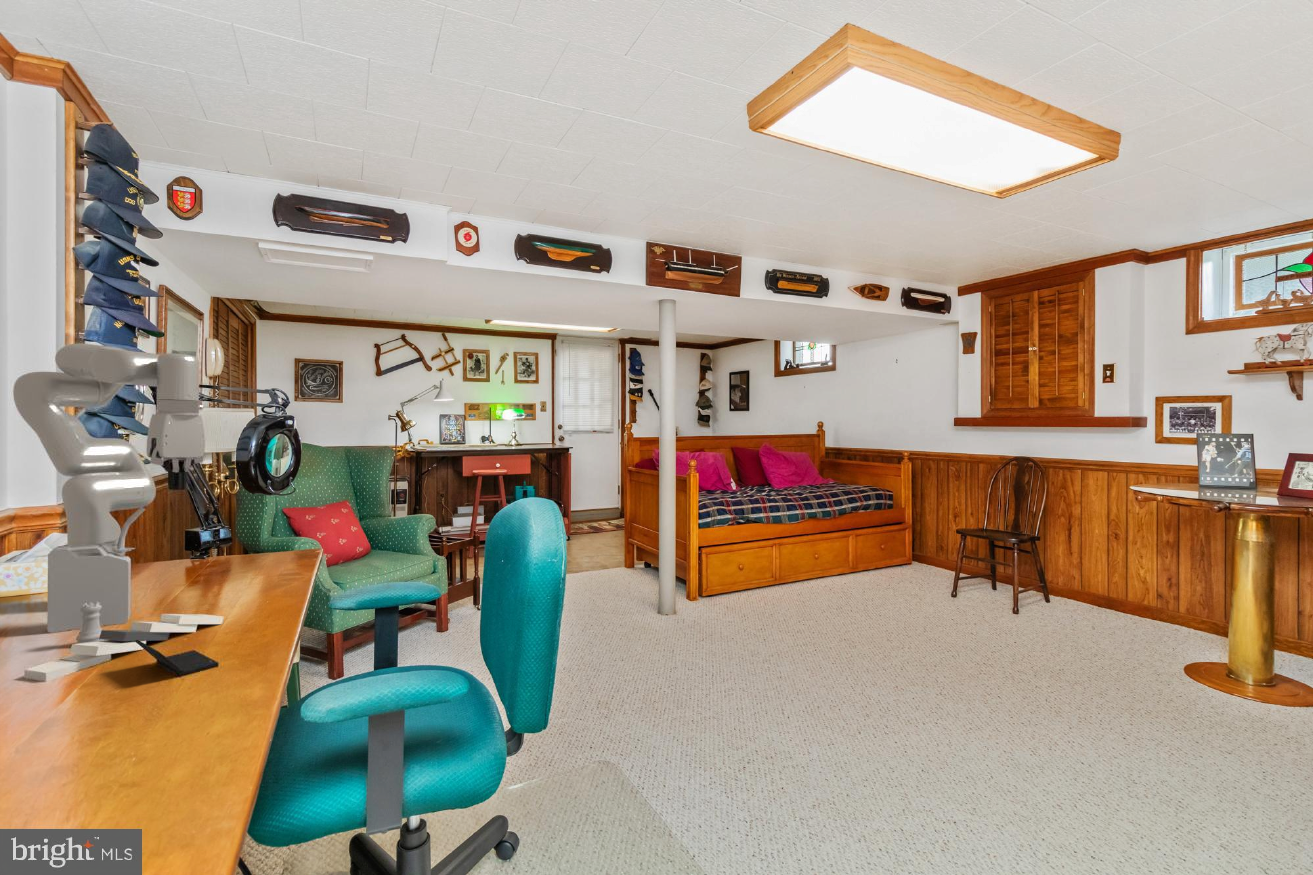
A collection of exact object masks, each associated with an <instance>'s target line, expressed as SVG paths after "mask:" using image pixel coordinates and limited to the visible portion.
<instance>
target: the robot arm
mask: <svg viewBox="0 0 1313 875" xmlns="http://www.w3.org/2000/svg"><path fill="white" fill-rule="evenodd" d="M54 358H55V359H54V361H55V364H56V366H57V368H58V369H59V370H60V371H61V372H57V371H34V372H33V371H32V372H28V373H25V374H23V375H21V376H19V377H18V378H16V381H15V382H14V384H13V390H12V393H13V402H14V405H15V407H16V410H17V412H18V413H19V415H20V416H21V417H22V419H23V420H24V421H25V423H27V425H28V426H29V427H30V428H31V429H32V430H33V431H34V433H35V434H36V435H37V437H38V438H39V440H40V442H41V444H42V447H43V448H44V450H45V452H46V454H47V456H48V458H49V459H50V461H51V463H52V464H53V466H54V468H55V469H56V471H57V472H58V473H60V474H61V475H62V476H66V477H69V479H67V480H66V481H65V483H64V484H63V486H62V488H61V498H62V503H63V506H64V512H65V516H66V526H67V527H66V528H67V529H66V530H67V531H66V532H67V535H66V536H67V537H66V538H67V540H66V542H67V543H66V544H67V545H72V546H73V545H87V544H100V543H104V542H110V541H115V540H116V539H117V538H119V536H120V533H121V531H122V528H121V526H120V525H119V522H117V520H116V519H115V518H114V517H113V516H112V514H111V513H110V512H115V511H123V510H133V509H140V508H141V507H142V508H144V507H147V506H148V505H150V504H152V503H153V501H154V500H155V497H156V494H157V488H156V484H155V481H154V478H153V477H152V475H151V473H150V471H149V470H148V468H147V466H146V464H145V462H144V461H143V458H142V457H141V455H140V453H139V451H138V450H137V449H136V446H134V445H133V444H132V443H131V442H129V441H127V440H125V439H124V438H123V439H122V438H116V437H113V438H112V437H111V438H110V437H105V438H104V437H103V438H102V437H95V436H91V435H90V434H89V432H88V431H87V430H86V428H85V425H84V424H83V423H82V422H81V421H80V419H78V418H77V417H76V416H74V415H73V414H72V413H70V412H68V411H66V410H64V409H63V408H61V407H64V408H65V407H67V408H68V407H69V408H71V407H72V408H100V407H103V406H105V405H107V404H108V403H110V402H111V401H112V399H113V398H114V397H115V396H116V395H117V394H118V393H119V392H120V391H121V390H122V388H124V386H125V385H126V386H127V385H129V386H144V387H145V386H146V387H155V388H156V413H155V414H154V413H153V414H151V418H150V420H149V425H148V431H147V438H146V456H147V457H148V458H150V464H152V465H156V466H161V467H162V468H163V469H164V471H165V472H166V473H167V486H168V487H167V488H168V490H169V491H170V490H173V491H180V490H186V489H187V484H188V482H187V481H188V480H187V478H188V475H187V474H188V473H189V471H190V470H191V468H192V466H194V465H195V464H199V463H202V462H203V461H204V460H203V456H204V455H205V447H206V438H205V437H206V436H205V430H204V423H203V422H204V421H203V419H202V415H199V414H200V411H203V409H204V406H203V405H202V404H200V394H199V393H200V362H199V359H198V357H197V356H195V355H191V354H184V353H177V352H176V353H172V352H171V353H169V352H168V353H161V354H160V353H154V352H153V353H151V352H146V351H145V352H143V351H134V350H125V349H124V348H119V347H116V346H110V345H109V346H108V345H99V344H91V343H90V344H89V343H72V344H68V345H67V344H66V345H65V346H63V347H62V348H60V349H58V351H57V352H56V353H55V356H54ZM118 541H119V539H118ZM118 541H117V543H116V544H118ZM105 544H107V543H105ZM67 545H66V546H67ZM101 545H102V546H103V547H104V548H105V549H106V550H107V551H108V552H111V549H112V548H111V547H109V546H106V545H103V544H101ZM114 549H117V547H114ZM79 552H80V553H81V554H82V553H99V552H98V551H97V550H91V551H79Z"/></svg>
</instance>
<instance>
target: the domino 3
mask: <svg viewBox="0 0 1313 875" xmlns="http://www.w3.org/2000/svg"><path fill="white" fill-rule="evenodd" d="M170 633H171V632H144V631H135V630H130V629H112V630H111V629H108V630H107V629H102V631H101V634H100V637H99V639H104V640H105V641H106V640H116V641H135V640H139V641H146V642H147V641H148V642H149V641H168V640H169V636H170Z"/></svg>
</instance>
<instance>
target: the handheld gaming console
mask: <svg viewBox="0 0 1313 875" xmlns="http://www.w3.org/2000/svg"><path fill="white" fill-rule="evenodd" d="M135 642H136V643H137V644H138V645H140V646H141V647H142V648H143V649H142V650H144V651H146V652H147V653H148V654H150V656H152V657H153V658H154V659H156V662H155V663H156V664H157V665H159V666H161V667H162V668H164V669H165V670H167V669H168V671H169V672H171V673H173V674H174V673H175V674H174V675H176V676H178V677H179V678H183V677H185V676H189V675H192V674H198V673H201V672H204V671H208V670H210V669H211V670H212V669H214V668H218V667H219V664H220V663H219V662H218V661H216V660H215V659H213V658H210V657H208V656H207V655H205V654H203V653H201V652H198V651H197V650H195V649H192V650H189V651H185V652H180V653H177V654H173V655H168V656H165V655H164V654H163V653H161V652H160V651H158V650H157V649H155V648H153V647H151V646H149V645H147V643H146V644H144V643H142V642H141V641H139V640H135ZM200 671H201V672H200Z"/></svg>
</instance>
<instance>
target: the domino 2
mask: <svg viewBox="0 0 1313 875" xmlns="http://www.w3.org/2000/svg"><path fill="white" fill-rule="evenodd" d="M141 642H142V643H144V644H146V645H147V641H141ZM140 650H144V649H143V648H142V647H141V646H140V645H138V644H137V643H136V642H135V641H116V640H105V641H97V642H88V643H79V644H76V643H72V644H71V648H70V651H69V654H70V655H75V654H80V655H92V656H99V655H106V654H111V655H112V654H113V655H114V654H118V653H119V654H121V653H127V652H134V651H140Z"/></svg>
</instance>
